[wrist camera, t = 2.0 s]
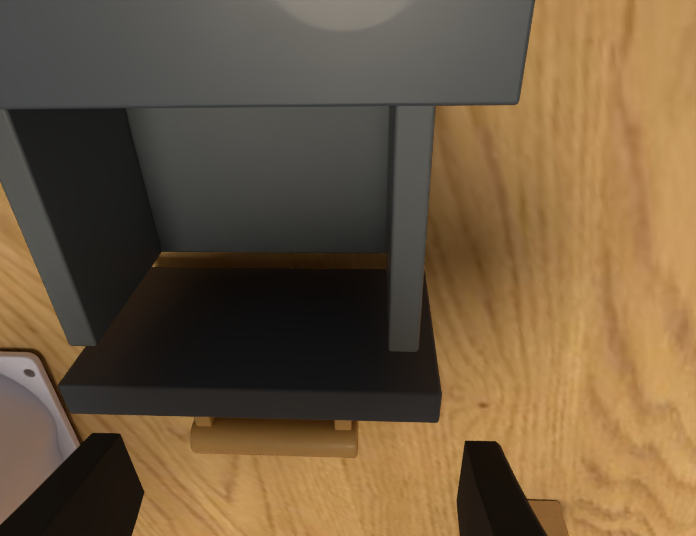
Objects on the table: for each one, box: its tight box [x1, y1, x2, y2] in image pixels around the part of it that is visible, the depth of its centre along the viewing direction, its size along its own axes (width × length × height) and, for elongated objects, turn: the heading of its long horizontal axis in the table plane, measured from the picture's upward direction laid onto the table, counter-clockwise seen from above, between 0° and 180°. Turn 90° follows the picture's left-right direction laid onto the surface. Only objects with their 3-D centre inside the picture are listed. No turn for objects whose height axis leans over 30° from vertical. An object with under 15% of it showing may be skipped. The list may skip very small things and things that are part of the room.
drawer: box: [0, 106, 442, 458], centre depth 15 cm, size 17×11×6 cm, turn 1°
